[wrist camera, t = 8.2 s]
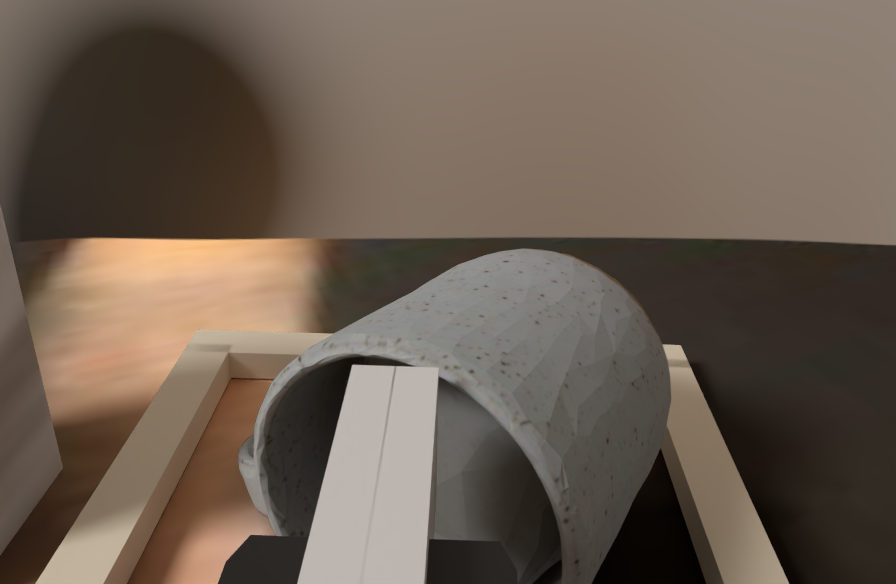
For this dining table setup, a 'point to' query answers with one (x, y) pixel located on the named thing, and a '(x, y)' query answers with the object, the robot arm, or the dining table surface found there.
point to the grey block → (21, 409)
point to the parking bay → (263, 357)
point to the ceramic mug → (492, 408)
